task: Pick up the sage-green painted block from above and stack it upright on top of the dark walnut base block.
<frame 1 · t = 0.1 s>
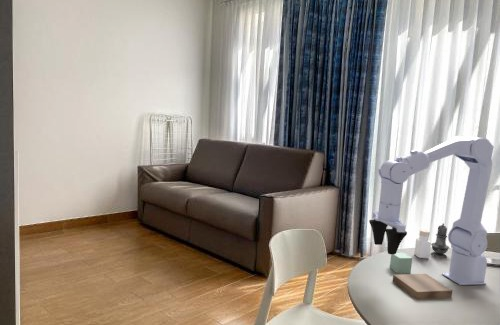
hand: (384, 248, 112), 10 cm above the table, fingers open, 7 cm apart
walnut base: (420, 288, 110), on the table
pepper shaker: (421, 257, 137), on the table
sage block: (399, 270, 123), on the table
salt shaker: (438, 255, 140), on the table
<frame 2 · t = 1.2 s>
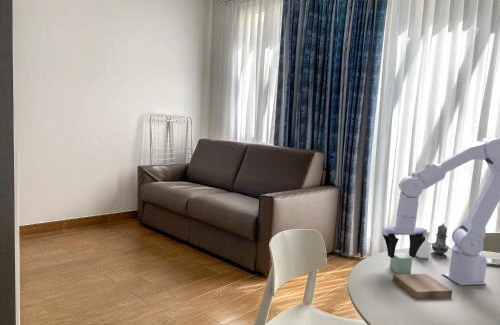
hand: (401, 256, 122), 4 cm above the table, fingers open, 7 cm apart
nothing on the table moved.
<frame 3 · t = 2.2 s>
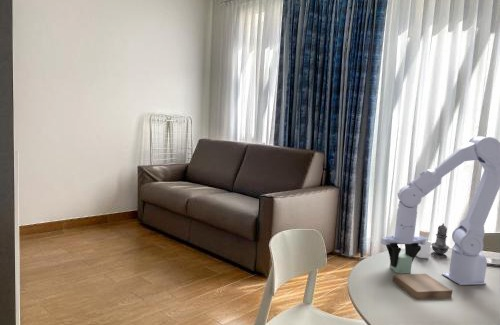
hand: (400, 266, 123), 1 cm above the table, fingers closed on sage block, 4 cm apart
sage block: (399, 270, 123), on the table, touching gripper
everything else where it was.
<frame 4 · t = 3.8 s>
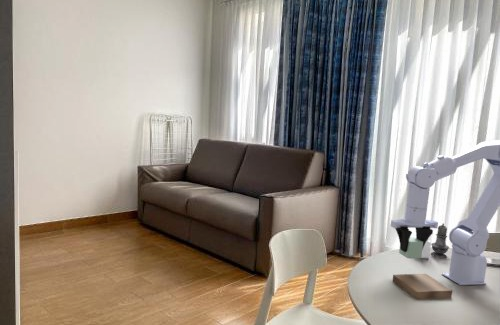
hand: (411, 250, 117), 8 cm above the table, fingers closed on sage block, 4 cm apart
sage block: (410, 255, 117), point 7 cm above the table, touching gripper
everything else where it was.
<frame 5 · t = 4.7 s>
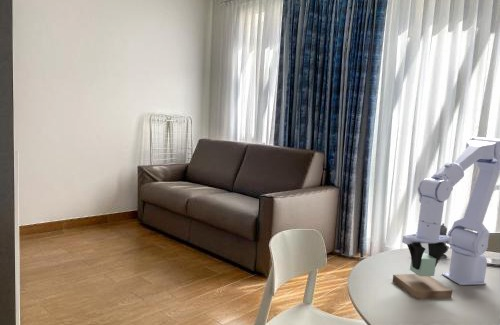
hand: (423, 268, 109), 6 cm above the table, fingers closed on sage block, 4 cm apart
sage block: (421, 272, 110), point 5 cm above the table, touching gripper
everything else where it was.
when the fingers open (5 cm above the table, at t = 5.4 s): sage block drops 1 cm, resting on walnut base.
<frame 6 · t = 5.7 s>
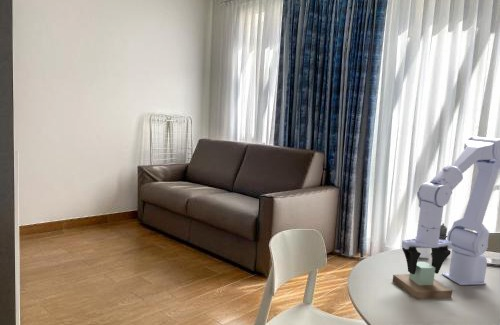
hand: (423, 272, 109), 5 cm above the table, fingers open, 7 cm apart
sage block: (420, 281, 110), point 2 cm above the table, touching walnut base
everything else where it was.
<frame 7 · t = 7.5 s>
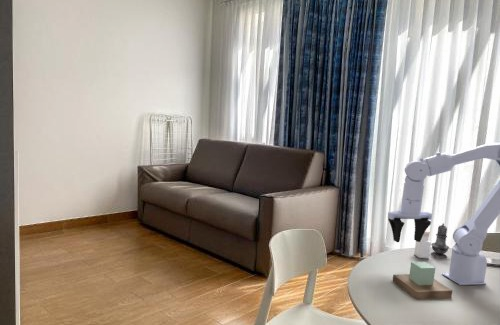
hand: (406, 241, 123), 9 cm above the table, fingers open, 7 cm apart
nothing on the table moved.
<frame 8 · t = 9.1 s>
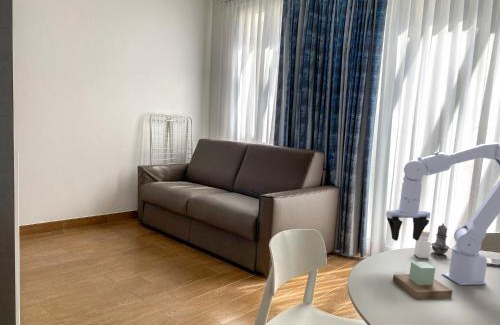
hand: (405, 239, 124), 9 cm above the table, fingers open, 7 cm apart
nothing on the table moved.
at the end: sage block 0.4 cm off-centre on the walnut base, point 2.0 cm above the walnut base's base; sage block tilted 0°; the gripper is holding nothing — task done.
